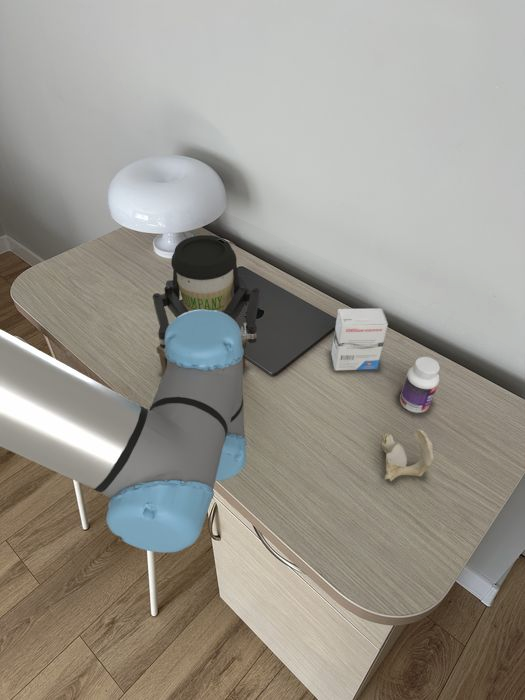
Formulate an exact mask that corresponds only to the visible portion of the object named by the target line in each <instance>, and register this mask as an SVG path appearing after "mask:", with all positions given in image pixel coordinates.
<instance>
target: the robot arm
mask: <svg viewBox="0 0 525 700" xmlns="http://www.w3.org/2000/svg"><path fill="white" fill-rule="evenodd" d="M237 263H238V262H236V266H235V267H234V269H233V276H234V279H233V288H232V289H233V297H232V298H231V301H230V303H229V304H228V306H227V307H226V309H225V310H222V312H220V311H216V310H214V311H212V310H205V309H199V310H193V311H188V310H187V308H186V307H185V306H184V303H183V301H181V299H180V295H181V292H180V288H179V284H178V281H177V273H176V272H175V271H174V269H173V268H172V269H173V271H172V279H169V280H166V282H165V286H164V293H159V292H156V293H154V294H152V300H153V306H154V310H155V314H156V318H157V322H158V326H159V328H158V332H157V334H158V340H159V345H160V346H161V348H165V349H164V352H165V356H166V358H167V368H166V371H165V373H164V374H162V375H163V376H162V378H161V380H160V383H159V385H158V388H157V391H156V393H155V395H154V397H153V400H152V403H151V404H150V407H149V409H148V408H146V407H144V406H142V405H140V404H138V403H137V402H134V401H133V400H131V399H130V398H127V397H125V396H124V395H122V394H120V393H118V392H117V391H114V390H113V389H111V388H109V387H107V386H106V385H103V384H102V383H100V382H98V381H96V380H95V379H92V378H90V377H89V376H87V375H86V374H83V373H82V372H80V371H78V370H77V369H75V368H72V367H71V366H69V365H67V364H65V363H63V362H62V361H60V360H59V359H56V358H54V357H52V356H51V355H49V354H47V353H45V352H44V351H41V350H39V348H36V347H35V346H32V345H30V344H29V343H27V342H25V341H23V340H21V339H19V338H17V337H16V336H14V335H12V334H10V333H8V332H7V331H5V330H3V329H1V328H0V447H1V448H2V449H5V450H7V451H10V452H12V453H14V454H16V455H18V456H21V457H22V458H25V459H27V460H29V461H31V462H34V463H36V464H38V465H41V466H43V467H44V468H47V469H49V470H51V471H53V472H55V473H58V474H60V475H62V476H63V477H67V478H69V479H71V480H73V481H75V482H77V483H79V484H81V485H84V486H85V487H88V488H90V489H92V490H93V491H95V492H98V493H100V494H102V495H103V496H105V497H107V498H108V499H109V502H108V504H107V506H108V508H107V512H106V518H105V519H106V524H107V526H108V529H109V530H110V532H111V533H112V534H114V535H115V536H117V537H120V539H121V540H122V541H123V542H124V543H126V544H128V545H130V546H132V547H135V548H137V549H140V550H143V551H147V552H153V553H167V554H168V553H169V554H170V553H177V552H181V551H183V550H185V549H186V548H189V547H191V546H192V545H193V544H195V543H196V542H197V540H198V538H199V537H200V535H201V532H202V530H203V526H204V523H205V520H206V517H207V514H208V512H209V510H210V509H209V508H210V506H211V502H212V500H213V499H214V497H215V491H214V487H215V483H216V482H221V481H225V480H229V479H231V478H232V477H234V476H236V475H238V474H239V473H240V472H241V471H242V470H243V469H244V467H245V465H246V463H247V445H248V444H247V443H248V441H247V438H246V431H245V412H244V411H245V409H244V408H245V407H244V393H243V392H244V369H243V355H244V349H243V347H242V340H244V341H246V340H247V341H248V343H250V344H254V343H256V342H257V324H256V320H257V315H258V311H259V305H260V289H259V288H258V287H253V288H251V289H249V288H248V287H247V281H246V278H245V276H239V274H238V273H239V271H238V264H237ZM245 306H247V309H246V314H245V322H243V323H242V325H241V327H240V326H239V324H238V323H237V321H236V320H237V319H238V317H239V315H240V314H241V312H242V310H243V308H244V307H245ZM165 307H167V308H168V309H169V310H170V311H171V313H172V314H173V316H174V317H175V318H173V320H172V321H170V323H169V318H168V315H167V311H166V308H165Z"/></svg>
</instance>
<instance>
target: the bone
mask: <svg viewBox="0 0 525 700" xmlns="http://www.w3.org/2000/svg"><path fill="white" fill-rule="evenodd" d="M380 437H381V440H382V441H381V447H382V450H383V452H384V453H385V475H384V480H389V481H390V482H392V481H393V480H394V479H395V478H397V477H400V476H417V477H422V476H423V475H424V474H425V472H426V471H427V470H428V469H429V468H430V466H431V465H432V464H433V461H434V459H435V455H434V445H433V443H432V441H431V440H430V439H429V436H428V434H427V432H425V430H423V429H420V428H417V429H414V430H413V437H414V440H415V442H416V443H417V445H418V446H419V449H420V457H419V458H418V461H417V462H415V463H413V464H410V465H407V462H408V458H407V457H408V456H407V453H406V451H405V449H404V447H403V445H402V444H400V443H399V442H397V441H395V439H394V436H393V435H392V434H390V433H388V432H387V433H384V434H382V435H381V436H380Z"/></svg>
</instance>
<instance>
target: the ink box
mask: <svg viewBox="0 0 525 700" xmlns="http://www.w3.org/2000/svg"><path fill="white" fill-rule="evenodd" d="M388 327H389V323H388V320H387V317H386V315H385V312H384V310H383V308H338V309H337V314H336V320H335V326H334V335H333V340H332V346H331V359H332V365H333V369H334V371H362V370H378V368H379V364H380V360H381V356H382V351H383V347H384V344H385V340H386V335H387V330H388Z"/></svg>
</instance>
